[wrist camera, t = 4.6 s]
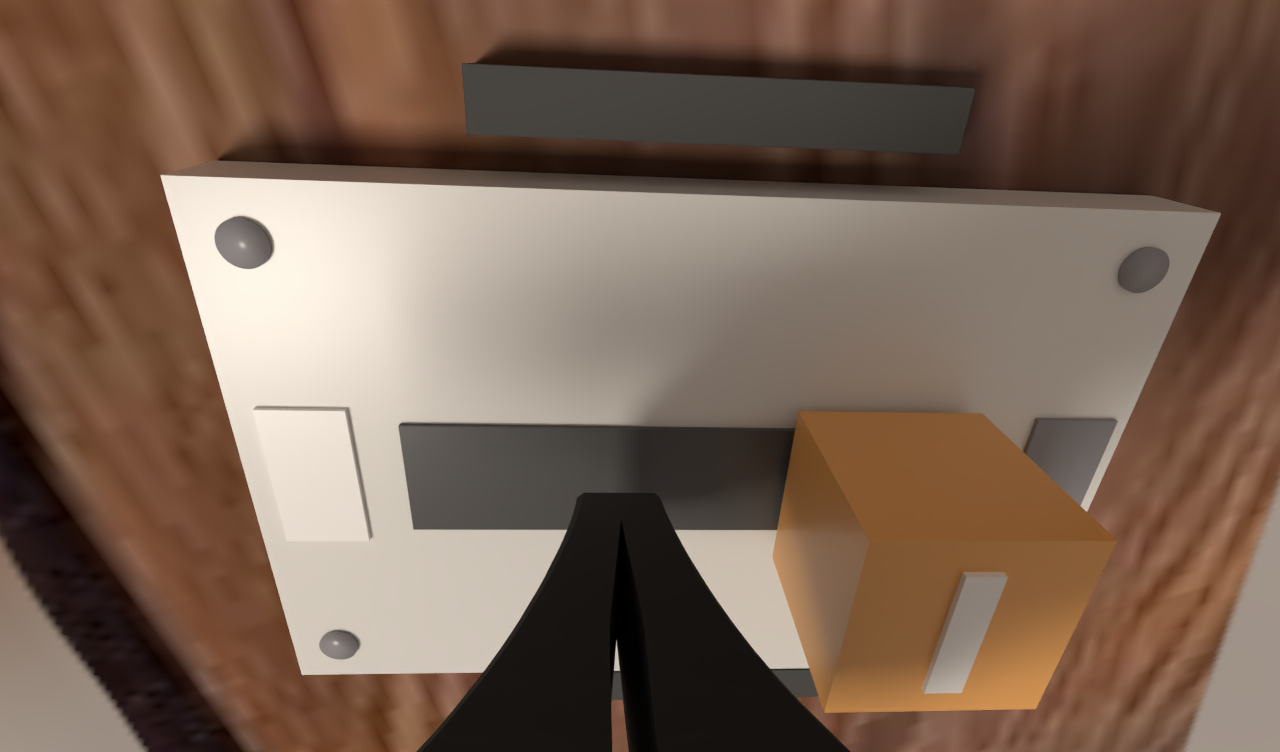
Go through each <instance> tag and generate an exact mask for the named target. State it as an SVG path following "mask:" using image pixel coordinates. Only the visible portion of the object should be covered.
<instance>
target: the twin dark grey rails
mask: <svg viewBox="0 0 1280 752" xmlns="http://www.w3.org/2000/svg"><path fill="white" fill-rule="evenodd" d="M462 74H463V88H464V101H465V115H466V129H467V134H468V135H492V136H516V137H541V138H565V139H590V140H614V141H638V142H663V143H687V144H712V145H736V146H760V147H785V148H809V149H834V150H858V151H882V152H907V153H931V154H956V155H959V151H960V147H961V143H962V140H963V136H964V132H965V128H966V124H967V120H968V116H969V112H970V108H971V104H972V100H973V97H974V93H975V89H976V88H967V87H955V86H942V85H922V84H901V83H880V82H859V81H839V80H818V79H797V78H776V77H756V76H735V75H714V74H693V73H672V72H652V71H631V70H610V69H589V68H569V67H548V66H527V65H506V64H486V63H464V64H462ZM771 670H772V672H773V673H774V674H775V675H776V676H777V677H778V678H779V679H780V681H781V682H782V683H783V684H784V685H785V686H786V687H787V688H788V689H789V690H790V692H791V693H792V694H793V695H794V696H795V697H811V696H818V693H817V690H816V687H815V684H814V681H813V678H812V675H811V672H810V669H809V668H787V669H771ZM621 699H623V695H622V686H621V677H620V671H614V676H613V688H612V700H621Z"/></svg>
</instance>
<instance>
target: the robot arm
mask: <svg viewBox="0 0 1280 752" xmlns="http://www.w3.org/2000/svg"><path fill="white" fill-rule="evenodd" d="M616 640H617V649H618V658H619V667H620V677H621V686H622V695H623V704H624V713H625V722H626V731H627V740H628V749H629V752H850V751H849V750H848V749H847V748H846V747H845V746H844V745H843V744H842V743H841V742H840V741H839V740H838V739H837V738H836V737H835V736H834V735H833V734H832V733H831V732H830V731H829V730H828V729H827V728H826V727H825V726H824V725H823V724H822V723H821V722H820V721H819V720H818V719H817V718H816V717H815V716H814V715H813V714H812V713H811V712H810V711H809V710H808V709H807V708H806V707H805V706H803V705H802V704H801V702H800V701H799V700H798V699H797V698H796V697H795V696H794V695H793V694H792V693H791V692H790V690H789V689H788V688H787V687H786V686H785V685H784V684H783V683H782V682H781V681H780V679H779V678H778V677H777V676H776V675H775V674H774V673H773V672H772V670H771V669H770V668H769V667H768V666H767V665H766V663H765V662H764V661H763V660H762V659H761V657H760V656H759V655H758V654H757V653H756V651H755V650H754V649H753V648H752V647H751V645H750V644H749V643H748V641H747V640H746V639H745V638H744V636H743V635H742V634H741V632H740V631H739V630H738V629H737V627H736V626H735V625H734V623H733V622H732V620H731V619H730V618H729V616H728V615H727V613H726V612H725V611H724V609H723V608H722V606H721V605H720V604H719V602H718V601H717V599H716V598H715V596H714V595H713V593H712V592H711V590H710V589H709V587H708V586H707V584H706V583H705V581H704V580H703V578H702V576H701V575H700V573H699V572H698V570H697V568H696V567H695V565H694V563H693V562H692V560H691V559H690V557H689V555H688V553H687V552H686V550H685V548H684V546H683V545H682V543H681V541H680V539H679V537H678V535H677V533H676V532H675V530H674V528H673V526H672V524H671V522H670V520H669V517H668V515H667V513H666V511H665V508H664V506H663V503H662V501H661V498H660V497H659V496H658V495H656V494H655V493H583V494H581V495H580V496H579V497H578V498H577V500H576V505H575V509H574V512H573V515H572V518H571V521H570V524H569V526H568V529H567V531H566V534H565V536H564V538H563V541H562V543H561V545H560V547H559V549H558V551H557V553H556V555H555V557H554V559H553V561H552V563H551V565H550V567H549V569H548V571H547V573H546V575H545V577H544V579H543V581H542V583H541V585H540V586H539V588H538V590H537V591H536V593H535V595H534V596H533V598H532V600H531V601H530V603H529V605H528V606H527V608H526V610H525V612H524V613H523V615H522V617H521V618H520V620H519V621H518V623H517V625H516V626H515V628H514V629H513V631H512V632H511V634H510V635H509V637H508V638H507V640H506V641H505V643H504V644H503V646H502V647H501V648H500V650H499V651H498V653H497V654H496V655H495V657H494V658H493V660H492V661H491V662H490V664H489V665H488V667H487V668H486V669H485V671H484V672H483V673H482V675H481V676H480V677H479V678H478V680H477V681H476V682H475V684H474V685H473V686H472V687H471V689H470V690H469V691H468V692H467V694H466V695H465V696H464V697H463V699H462V700H461V701H460V702H459V704H458V705H457V706H456V708H455V709H454V710H453V711H452V712H451V714H450V715H449V716H448V717H447V718H446V719H445V721H444V722H443V723H442V724H441V725H440V727H439V728H438V729H437V730H436V731H435V732H434V733H433V735H432V736H431V737H430V738H429V739H428V740H427V741H426V742H425V743H424V744H423V745H422V746H421V748H420V749H419V750H418V751H417V752H612V724H611V700H612V688H613V676H614V664H615V652H616Z"/></svg>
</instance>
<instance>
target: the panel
mask: <svg viewBox="0 0 1280 752" xmlns="http://www.w3.org/2000/svg"><path fill="white" fill-rule="evenodd" d="M160 176H161V179H162V183H163V186H164V190H165V193H166V197H167V200H168V204H169V207H170V211H171V214H172V218H173V221H174V225H175V229H176V232H177V236H178V239H179V243H180V246H181V250H182V253H183V257H184V260H185V264H186V267H187V271H188V274H189V278H190V281H191V285H192V289H193V292H194V296H195V299H196V303H197V306H198V310H199V313H200V317H201V320H202V324H203V327H204V331H205V334H206V338H207V341H208V345H209V349H210V352H211V356H212V359H213V363H214V366H215V370H216V373H217V377H218V380H219V384H220V387H221V391H222V394H223V398H224V401H225V405H226V408H227V412H228V416H229V419H230V423H231V426H232V430H233V433H234V437H235V440H236V444H237V447H238V451H239V454H240V458H241V461H242V465H243V468H244V472H245V476H246V479H247V483H248V486H249V490H250V493H251V497H252V500H253V504H254V507H255V511H256V514H257V518H258V521H259V525H260V528H261V532H262V536H263V539H264V543H265V546H266V550H267V553H268V557H269V560H270V564H271V567H272V571H273V574H274V578H275V581H276V585H277V588H278V592H279V595H280V599H281V603H282V606H283V610H284V613H285V617H286V620H287V624H288V627H289V631H290V634H291V638H292V641H293V645H294V648H295V652H296V655H297V659H298V663H299V666H300V670H301V673H302V675H318V674H396V673H474V672H484V671H485V669H486V668H487V667H488V665H489V664H490V662H491V661H492V660H493V658H494V657H495V655H496V654H497V653H498V651H499V650H500V648H501V647H502V646H503V644H504V643H505V641H506V640H507V638H508V637H509V635H510V634H511V632H512V631H513V629H514V628H515V626H516V625H517V623H518V621H519V620H520V618H521V617H522V615H523V613H524V612H525V610H526V608H527V606H528V605H529V603H530V601H531V600H532V598H533V596H534V595H535V593H536V591H537V590H538V588H539V586H540V585H541V583H542V581H543V579H544V577H545V575H546V573H547V571H548V569H549V567H550V565H551V563H552V561H553V559H554V557H555V555H556V553H557V551H558V549H559V547H560V545H561V543H562V541H563V538H564V536H565V534H566V531H567V529H568V526H569V524H570V521H571V518H572V515H573V512H574V509H575V505H576V500H577V498H578V497H579V496H580V495H581V494H583V493H655V494H656V495H658V496H659V497H660V498H661V501H662V503H663V506H664V508H665V511H666V513H667V515H668V517H669V520H670V522H671V524H672V526H673V528H674V530H675V532H676V533H677V535H678V537H679V539H680V541H681V543H682V545H683V546H684V548H685V550H686V552H687V553H688V555H689V557H690V559H691V560H692V562H693V563H694V565H695V567H696V568H697V570H698V572H699V573H700V575H701V576H702V578H703V580H704V581H705V583H706V584H707V586H708V587H709V589H710V590H711V592H712V593H713V595H714V596H715V598H716V599H717V601H718V602H719V604H720V605H721V606H722V608H723V609H724V611H725V612H726V613H727V615H728V616H729V618H730V619H731V620H732V622H733V623H734V625H735V626H736V627H737V629H738V630H739V631H740V632H741V634H742V635H743V636H744V638H745V639H746V640H747V641H748V643H749V644H750V645H751V647H752V648H753V649H754V650H755V651H756V653H757V654H758V655H759V656H760V657H761V659H762V660H763V661H764V662H765V663H766V665H767V666H768V667H769V668H770V669H787V668H809V666H808V663H807V660H806V657H805V654H804V651H803V648H802V645H801V642H800V639H799V636H798V633H797V630H796V627H795V624H794V621H793V618H792V615H791V612H790V609H789V606H788V603H787V600H786V597H785V594H784V591H783V588H782V585H781V582H780V579H779V576H778V573H777V570H776V567H775V564H774V561H773V558H772V556H773V550H774V545H775V539H776V534H777V528H778V523H779V517H780V511H781V506H782V500H783V495H784V489H785V483H786V478H787V472H788V467H789V461H790V456H791V450H792V444H793V439H794V433H795V428H796V422H797V417H798V411H839V412H911V413H983V414H984V415H985V416H986V417H987V418H988V419H989V420H990V421H991V422H992V423H993V424H994V425H995V426H996V427H997V428H999V429H1000V430H1001V431H1002V432H1003V433H1004V434H1005V435H1006V436H1007V437H1008V438H1009V439H1010V440H1011V441H1012V442H1013V443H1014V444H1015V445H1017V446H1018V447H1019V448H1020V449H1021V450H1022V451H1023V452H1024V453H1025V454H1026V455H1027V456H1028V457H1029V458H1030V459H1031V460H1032V461H1033V462H1034V463H1036V464H1037V465H1038V466H1039V467H1040V468H1041V469H1042V470H1043V471H1044V472H1045V473H1046V474H1047V475H1048V476H1049V477H1050V478H1051V479H1052V480H1054V481H1055V482H1056V483H1057V484H1058V485H1059V486H1060V487H1061V488H1062V489H1063V490H1064V491H1065V492H1066V493H1067V494H1068V495H1069V496H1070V497H1071V498H1073V499H1074V500H1075V501H1076V502H1077V503H1078V504H1079V505H1080V506H1081V507H1082V508H1083V509H1084V510H1085V511H1086V512H1087V511H1088V509H1089V506H1090V504H1091V502H1092V500H1093V497H1094V495H1095V493H1096V491H1097V489H1098V486H1099V484H1100V482H1101V480H1102V477H1103V475H1104V473H1105V471H1106V469H1107V466H1108V464H1109V462H1110V460H1111V457H1112V455H1113V453H1114V451H1115V449H1116V446H1117V444H1118V442H1119V440H1120V437H1121V435H1122V433H1123V431H1124V429H1125V426H1126V424H1127V422H1128V420H1129V417H1130V415H1131V413H1132V411H1133V409H1134V406H1135V404H1136V402H1137V400H1138V397H1139V395H1140V393H1141V391H1142V389H1143V386H1144V384H1145V382H1146V380H1147V377H1148V375H1149V373H1150V371H1151V368H1152V366H1153V364H1154V362H1155V360H1156V357H1157V355H1158V353H1159V351H1160V348H1161V346H1162V344H1163V342H1164V340H1165V337H1166V335H1167V333H1168V331H1169V328H1170V326H1171V324H1172V322H1173V320H1174V317H1175V315H1176V313H1177V311H1178V308H1179V306H1180V304H1181V302H1182V300H1183V297H1184V295H1185V293H1186V291H1187V288H1188V286H1189V284H1190V282H1191V280H1192V277H1193V275H1194V273H1195V271H1196V268H1197V266H1198V264H1199V262H1200V260H1201V257H1202V255H1203V253H1204V251H1205V248H1206V246H1207V244H1208V242H1209V240H1210V237H1211V235H1212V233H1213V231H1214V228H1215V226H1216V224H1217V222H1218V220H1219V217H1220V215H1221V213H1219V212H1215V211H1211V210H1207V209H1203V208H1199V207H1195V206H1191V205H1187V204H1183V203H1180V202H1176V201H1172V200H1168V199H1164V198H1160V197H1156V196H1149V195H1123V194H1096V193H1069V192H1043V191H1016V190H989V189H962V188H936V187H909V186H882V185H856V184H829V183H802V182H775V181H749V180H722V179H695V178H669V177H642V176H615V175H588V174H562V173H535V172H508V171H482V170H455V169H428V168H401V167H375V166H348V165H321V164H295V163H268V162H241V161H211V162H207V163H204V164H200V165H196V166H193V167H189V168H185V169H181V170H178V171H174V172H170V173H167V174H163V175H160ZM614 671H620V667H619V658H618V649H617V640H616V652H615V664H614Z"/></svg>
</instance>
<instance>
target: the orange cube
mask: <svg viewBox="0 0 1280 752" xmlns="http://www.w3.org/2000/svg"><path fill="white" fill-rule="evenodd" d="M1117 542H1118V541H1117V540H1116V539H1115V538H1114V537H1113V536H1112V535H1111V534H1110V533H1109V532H1107V531H1106V530H1105V529H1104V528H1103V527H1102V526H1101V525H1100V524H1099V523H1098V522H1097V521H1096V520H1095V519H1094V518H1093V517H1092V516H1091V515H1089V514H1088V513H1087V512H1086V511H1085V510H1084V509H1083V508H1082V507H1081V506H1080V505H1079V504H1078V503H1077V502H1076V501H1075V500H1074V499H1073V498H1071V497H1070V496H1069V495H1068V494H1067V493H1066V492H1065V491H1064V490H1063V489H1062V488H1061V487H1060V486H1059V485H1058V484H1057V483H1056V482H1055V481H1054V480H1052V479H1051V478H1050V477H1049V476H1048V475H1047V474H1046V473H1045V472H1044V471H1043V470H1042V469H1041V468H1040V467H1039V466H1038V465H1037V464H1036V463H1034V462H1033V461H1032V460H1031V459H1030V458H1029V457H1028V456H1027V455H1026V454H1025V453H1024V452H1023V451H1022V450H1021V449H1020V448H1019V447H1018V446H1017V445H1015V444H1014V443H1013V442H1012V441H1011V440H1010V439H1009V438H1008V437H1007V436H1006V435H1005V434H1004V433H1003V432H1002V431H1001V430H1000V429H999V428H997V427H996V426H995V425H994V424H993V423H992V422H991V421H990V420H989V419H988V418H987V417H986V416H985V415H984V414H983V413H911V412H839V411H798V417H797V422H796V428H795V433H794V439H793V444H792V450H791V456H790V461H789V467H788V472H787V478H786V483H785V489H784V495H783V500H782V506H781V511H780V517H779V523H778V528H777V534H776V539H775V545H774V550H773V556H772V558H773V561H774V564H775V567H776V570H777V573H778V576H779V579H780V582H781V585H782V588H783V591H784V594H785V597H786V600H787V603H788V606H789V609H790V612H791V615H792V618H793V621H794V624H795V627H796V630H797V633H798V636H799V639H800V642H801V645H802V648H803V651H804V654H805V657H806V660H807V663H808V666H809V669H810V672H811V675H812V678H813V681H814V684H815V687H816V690H817V693H818V696H819V698H820V701H821V704H822V707H823V710H824V713H834V712H891V711H949V710H1006V709H1036V707H1037V705H1038V703H1039V701H1040V699H1041V697H1042V695H1043V693H1044V691H1045V689H1046V687H1047V685H1048V683H1049V681H1050V679H1051V677H1052V675H1053V672H1054V670H1055V668H1056V666H1057V664H1058V662H1059V660H1060V658H1061V656H1062V654H1063V652H1064V650H1065V648H1066V646H1067V644H1068V642H1069V640H1070V638H1071V636H1072V634H1073V632H1074V630H1075V628H1076V625H1077V623H1078V621H1079V619H1080V617H1081V615H1082V613H1083V611H1084V609H1085V607H1086V605H1087V603H1088V601H1089V599H1090V597H1091V595H1092V593H1093V591H1094V589H1095V587H1096V585H1097V583H1098V581H1099V579H1100V576H1101V574H1102V572H1103V570H1104V568H1105V566H1106V564H1107V562H1108V560H1109V558H1110V556H1111V554H1112V552H1113V550H1114V548H1115V546H1116V544H1117Z"/></svg>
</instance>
